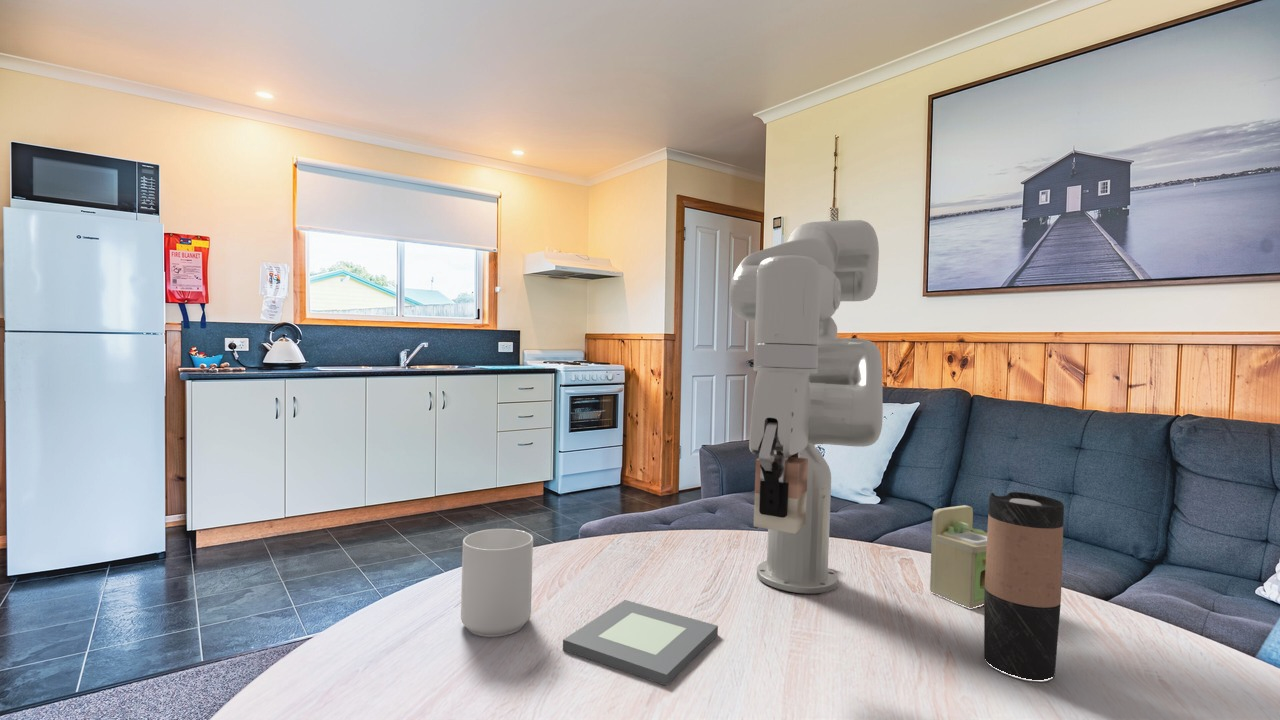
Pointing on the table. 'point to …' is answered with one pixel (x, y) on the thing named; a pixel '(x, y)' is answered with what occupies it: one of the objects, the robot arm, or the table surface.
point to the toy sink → (958, 556)
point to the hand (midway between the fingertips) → (780, 508)
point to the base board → (642, 640)
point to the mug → (496, 581)
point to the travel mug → (1023, 584)
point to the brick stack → (796, 498)
